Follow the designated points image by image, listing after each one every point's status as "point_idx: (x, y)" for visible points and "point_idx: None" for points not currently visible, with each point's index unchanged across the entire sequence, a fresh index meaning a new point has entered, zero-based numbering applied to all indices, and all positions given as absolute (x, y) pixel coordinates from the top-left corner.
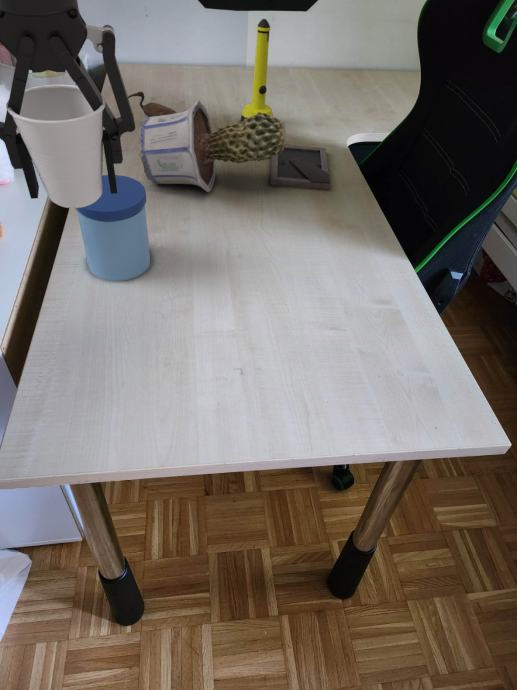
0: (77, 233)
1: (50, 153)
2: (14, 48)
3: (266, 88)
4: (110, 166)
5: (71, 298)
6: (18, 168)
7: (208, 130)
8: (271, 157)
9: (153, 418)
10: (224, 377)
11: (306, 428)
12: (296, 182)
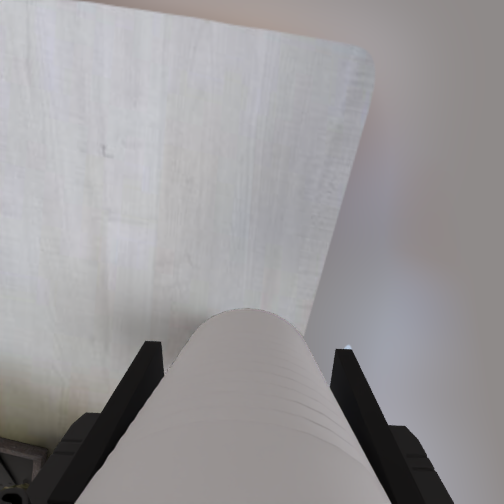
0: None
1: (296, 437)
2: None
3: None
4: (117, 401)
5: (288, 305)
6: (394, 426)
7: None
8: (11, 486)
9: (211, 98)
10: (125, 145)
11: (30, 38)
12: (10, 448)
